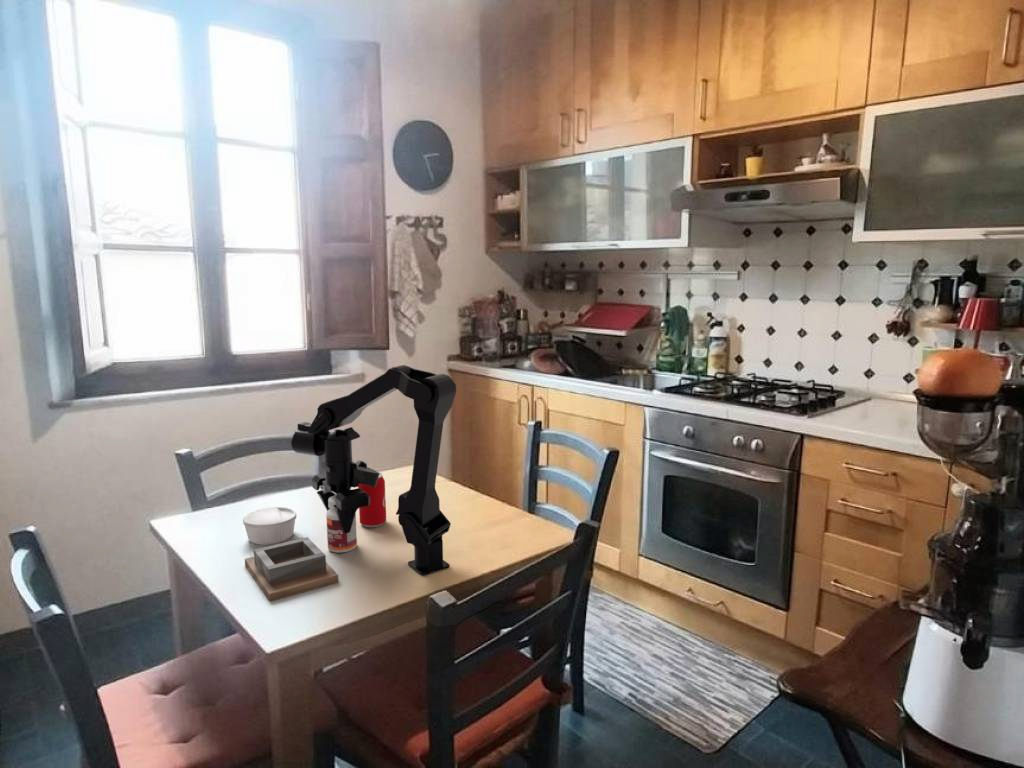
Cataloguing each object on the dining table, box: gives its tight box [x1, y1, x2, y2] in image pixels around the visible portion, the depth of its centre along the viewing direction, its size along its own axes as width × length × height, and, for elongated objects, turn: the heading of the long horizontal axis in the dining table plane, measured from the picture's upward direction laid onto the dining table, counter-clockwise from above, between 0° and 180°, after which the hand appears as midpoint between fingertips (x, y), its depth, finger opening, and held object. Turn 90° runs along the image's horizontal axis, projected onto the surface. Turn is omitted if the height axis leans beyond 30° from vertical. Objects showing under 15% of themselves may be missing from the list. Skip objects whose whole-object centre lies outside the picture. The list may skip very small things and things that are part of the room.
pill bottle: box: [325, 495, 358, 554], centre depth 140 cm, size 6×6×11 cm
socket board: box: [244, 536, 340, 602], centre depth 129 cm, size 18×13×4 cm
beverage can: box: [357, 472, 387, 528], centre depth 154 cm, size 6×6×12 cm
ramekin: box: [242, 506, 297, 546], centre depth 147 cm, size 11×11×5 cm
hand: (341, 527), depth 141 cm, fingers closed on pill bottle, 6 cm apart
